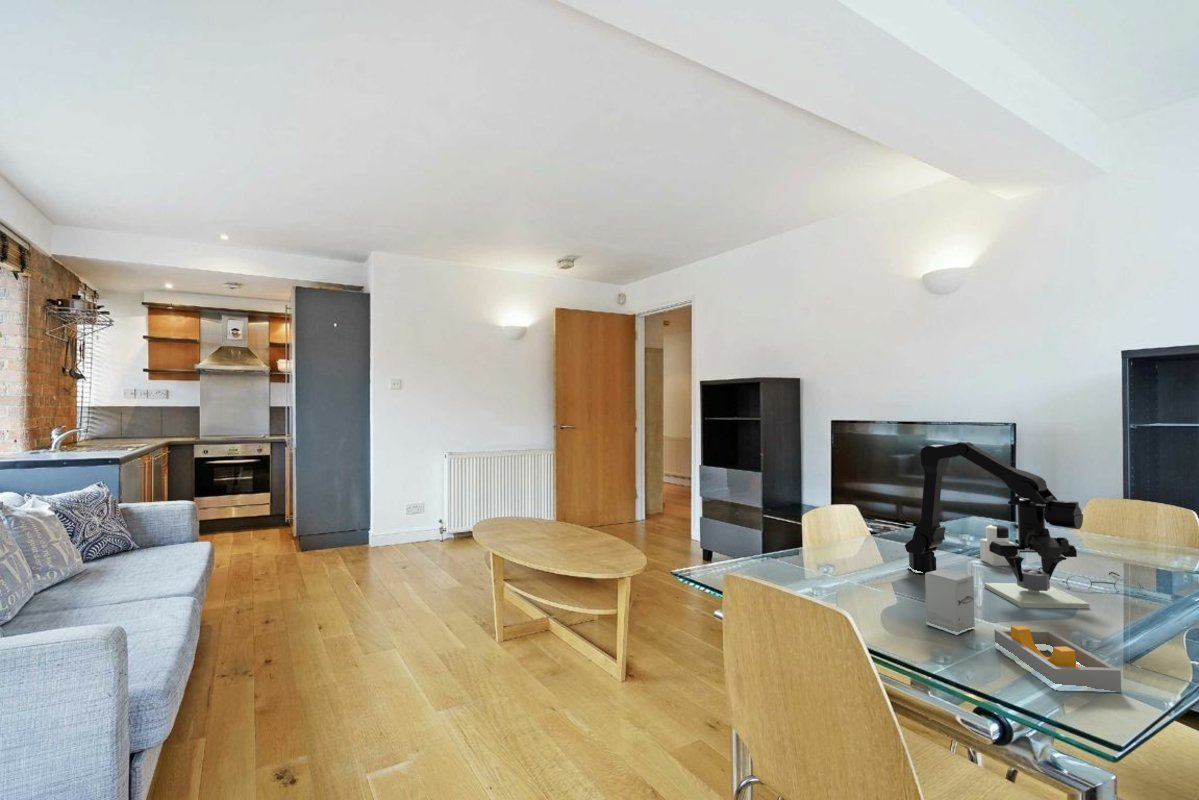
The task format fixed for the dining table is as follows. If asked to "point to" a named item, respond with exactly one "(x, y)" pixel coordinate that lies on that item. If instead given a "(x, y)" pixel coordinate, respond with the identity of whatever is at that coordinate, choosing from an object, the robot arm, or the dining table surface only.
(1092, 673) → the parts frame
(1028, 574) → the hub ring
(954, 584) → the supplement box
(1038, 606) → the post board
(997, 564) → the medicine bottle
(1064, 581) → the eyeglasses
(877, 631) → the dining table surface
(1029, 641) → the pipe clamp
